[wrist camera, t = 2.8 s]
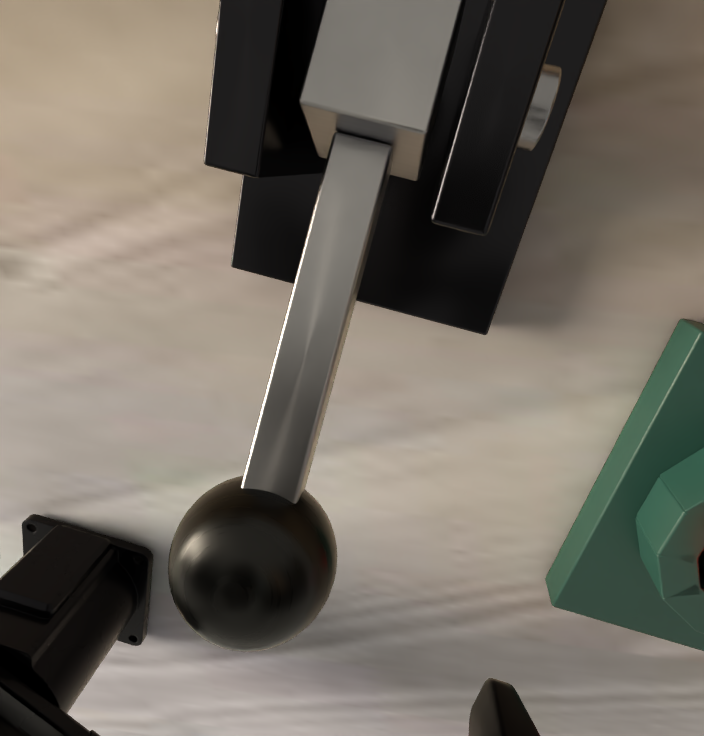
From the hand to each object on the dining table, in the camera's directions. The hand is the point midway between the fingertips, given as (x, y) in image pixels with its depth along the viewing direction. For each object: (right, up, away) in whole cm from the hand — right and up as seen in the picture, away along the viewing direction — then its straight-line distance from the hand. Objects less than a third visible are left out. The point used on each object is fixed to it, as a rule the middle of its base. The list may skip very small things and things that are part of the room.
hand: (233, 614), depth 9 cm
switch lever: (+2, +5, +2) cm, 6 cm away
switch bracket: (+4, +12, +7) cm, 15 cm away
